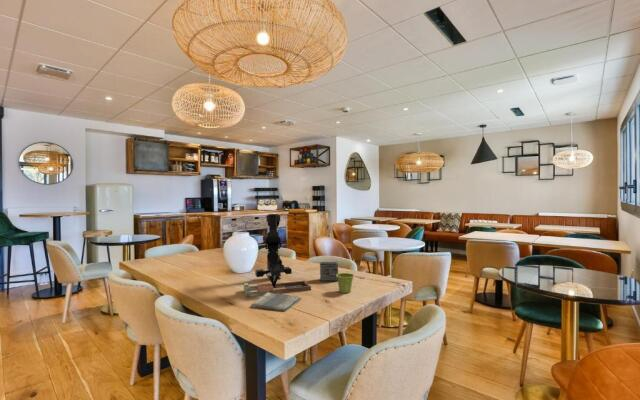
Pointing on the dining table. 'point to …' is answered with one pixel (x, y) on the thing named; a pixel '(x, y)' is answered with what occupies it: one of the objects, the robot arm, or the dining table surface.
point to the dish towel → (276, 302)
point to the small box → (328, 271)
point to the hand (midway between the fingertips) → (273, 287)
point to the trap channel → (289, 288)
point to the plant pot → (345, 282)
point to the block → (264, 287)
